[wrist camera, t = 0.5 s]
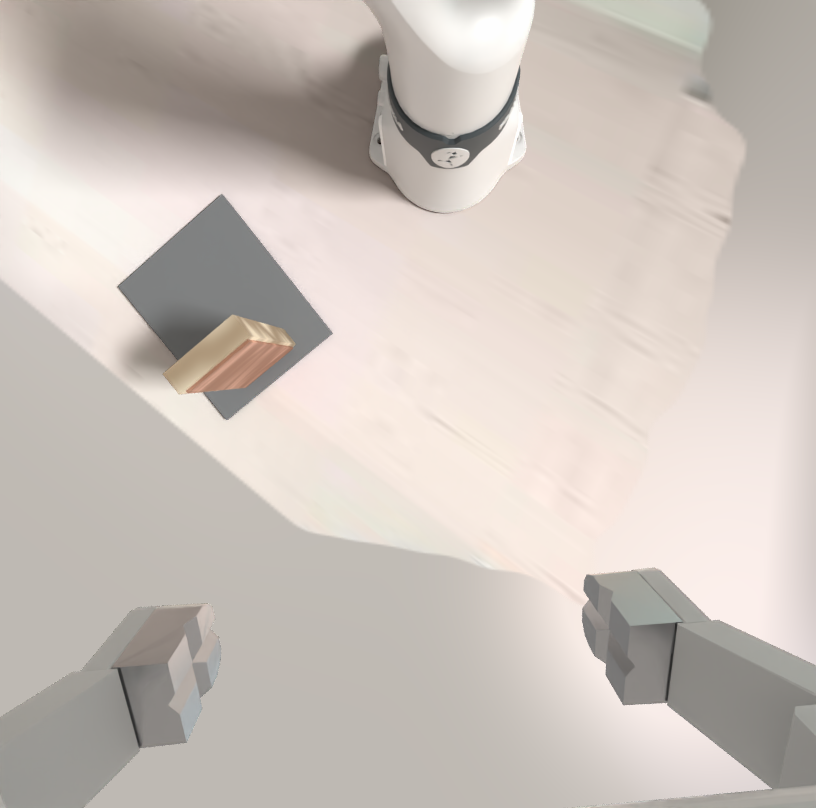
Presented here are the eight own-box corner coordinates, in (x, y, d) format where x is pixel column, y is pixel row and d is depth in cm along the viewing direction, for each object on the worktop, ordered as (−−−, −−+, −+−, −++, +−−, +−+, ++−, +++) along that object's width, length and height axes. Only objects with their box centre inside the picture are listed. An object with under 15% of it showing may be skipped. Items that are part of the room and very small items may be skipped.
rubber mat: (332, 333, 54) (332, 333, 53) (227, 419, 55) (226, 420, 55) (223, 195, 53) (221, 194, 52) (120, 287, 54) (118, 286, 54)
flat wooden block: (297, 346, 53) (251, 337, 40) (244, 389, 54) (181, 396, 40) (283, 328, 53) (232, 314, 39) (231, 372, 54) (162, 373, 40)
